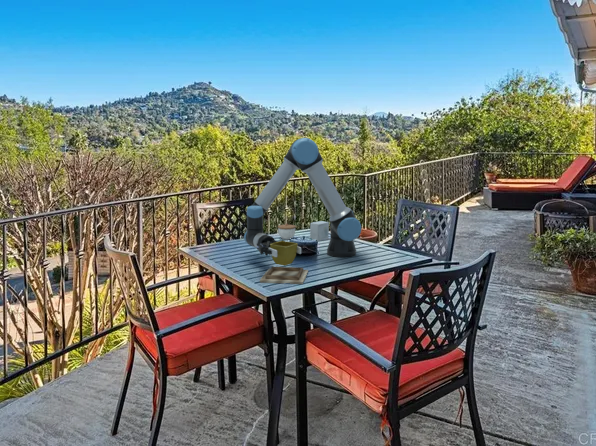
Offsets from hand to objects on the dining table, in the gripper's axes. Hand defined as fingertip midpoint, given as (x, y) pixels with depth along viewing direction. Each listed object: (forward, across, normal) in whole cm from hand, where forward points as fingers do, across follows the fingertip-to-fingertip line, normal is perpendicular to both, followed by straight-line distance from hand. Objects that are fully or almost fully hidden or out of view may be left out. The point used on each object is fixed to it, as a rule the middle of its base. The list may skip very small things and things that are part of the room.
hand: (288, 252), depth 187 cm
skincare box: (-61, -57, -12) cm, 84 cm away
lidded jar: (-74, -42, -12) cm, 85 cm away
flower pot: (-4, 0, -6) cm, 7 cm away
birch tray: (-4, 0, -12) cm, 12 cm away
